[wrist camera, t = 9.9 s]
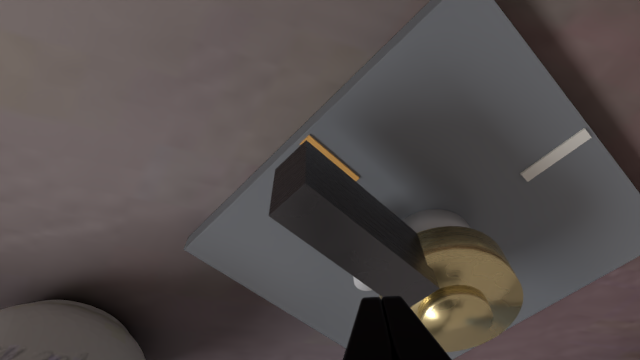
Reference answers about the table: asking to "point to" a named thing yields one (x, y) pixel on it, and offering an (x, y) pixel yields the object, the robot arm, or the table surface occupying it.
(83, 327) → the teacup
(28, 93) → the table surface
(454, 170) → the socket base
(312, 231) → the brass dome with handle
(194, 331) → the table surface
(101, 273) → the table surface
